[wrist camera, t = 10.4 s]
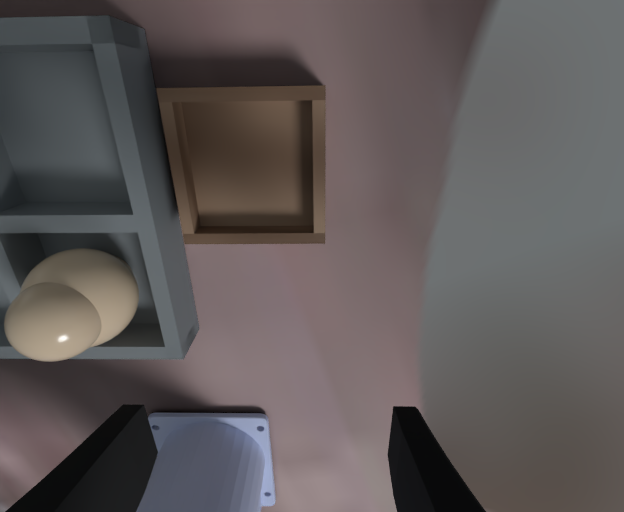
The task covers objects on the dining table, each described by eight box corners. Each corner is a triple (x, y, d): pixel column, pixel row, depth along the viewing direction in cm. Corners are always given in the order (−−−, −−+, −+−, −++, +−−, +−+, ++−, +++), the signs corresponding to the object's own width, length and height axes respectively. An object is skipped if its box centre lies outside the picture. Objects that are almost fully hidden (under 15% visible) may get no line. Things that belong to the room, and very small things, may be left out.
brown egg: (162, 311, 19) (103, 391, 14) (80, 311, 19) (-9, 391, 14) (144, 233, 17) (68, 292, 12) (53, 233, 17) (-62, 293, 12)
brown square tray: (324, 228, 17) (325, 243, 16) (198, 228, 18) (184, 243, 16) (324, 86, 15) (325, 85, 13) (176, 89, 15) (156, 88, 13)
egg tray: (199, 328, 20) (183, 359, 18) (-48, 328, 21) (-95, 358, 18) (144, 29, 14) (108, 15, 12) (-208, 36, 14) (-312, 24, 12)
